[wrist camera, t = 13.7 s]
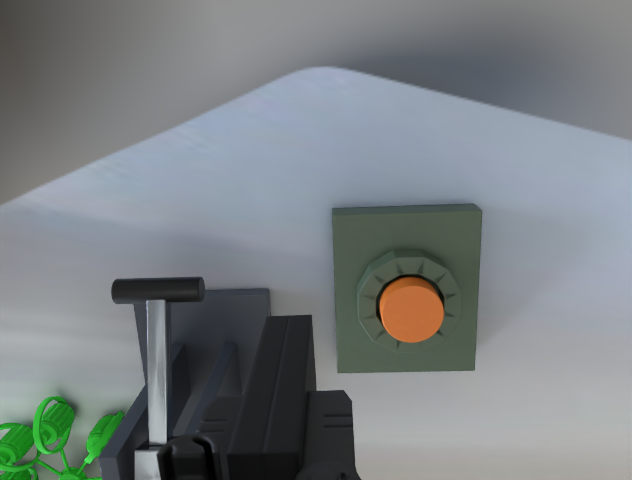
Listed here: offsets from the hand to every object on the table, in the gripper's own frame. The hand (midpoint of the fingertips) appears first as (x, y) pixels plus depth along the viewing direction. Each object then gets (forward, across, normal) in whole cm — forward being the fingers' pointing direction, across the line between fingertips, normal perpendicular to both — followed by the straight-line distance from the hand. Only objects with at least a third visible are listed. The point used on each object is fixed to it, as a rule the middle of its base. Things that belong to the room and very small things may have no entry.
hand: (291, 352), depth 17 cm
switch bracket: (+20, -9, -12) cm, 25 cm away
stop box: (+20, +6, -6) cm, 22 cm away
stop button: (+17, +6, -6) cm, 19 cm away
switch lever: (+11, -9, -8) cm, 16 cm away
